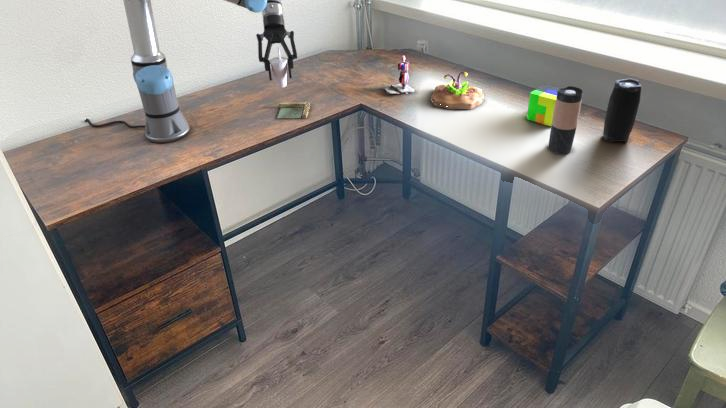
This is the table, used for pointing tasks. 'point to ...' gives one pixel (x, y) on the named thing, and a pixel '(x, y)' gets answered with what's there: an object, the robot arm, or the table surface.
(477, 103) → the plant
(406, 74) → the statue
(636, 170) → the table surface
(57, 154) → the table surface
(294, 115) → the corner guide
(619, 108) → the portable speaker
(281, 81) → the smoothie
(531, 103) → the puzzle toy
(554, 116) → the travel mug
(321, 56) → the table surface
